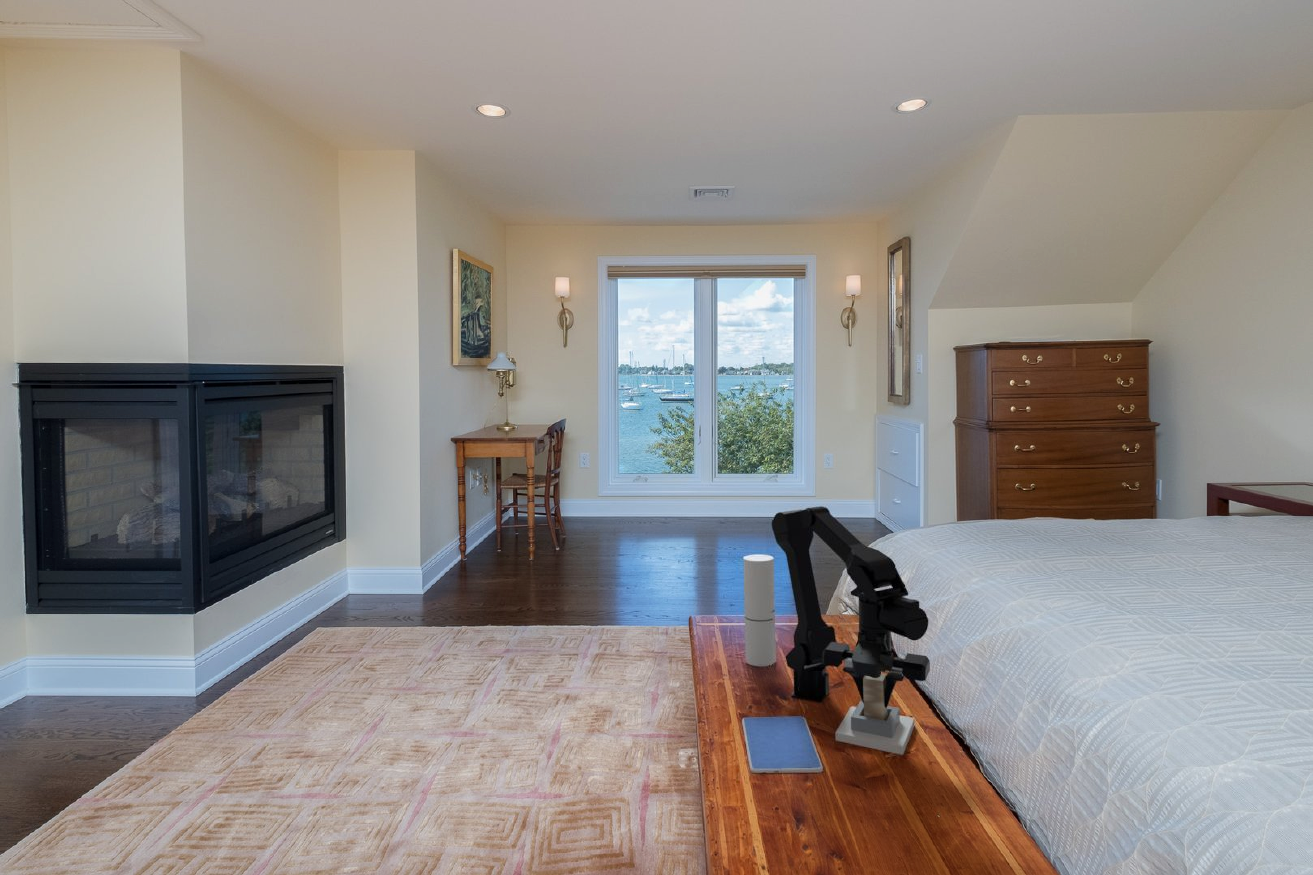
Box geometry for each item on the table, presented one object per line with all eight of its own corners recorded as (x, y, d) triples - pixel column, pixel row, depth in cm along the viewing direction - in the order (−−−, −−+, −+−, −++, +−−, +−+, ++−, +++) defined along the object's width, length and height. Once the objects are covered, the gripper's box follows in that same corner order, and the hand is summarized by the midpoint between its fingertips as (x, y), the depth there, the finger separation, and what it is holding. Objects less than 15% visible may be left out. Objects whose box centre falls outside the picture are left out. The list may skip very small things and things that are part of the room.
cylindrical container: (780, 658, 172) (778, 555, 171) (769, 668, 166) (766, 562, 165) (752, 653, 176) (750, 553, 175) (741, 663, 170) (738, 559, 168)
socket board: (835, 740, 132) (835, 719, 132) (851, 713, 143) (851, 693, 143) (902, 754, 127) (902, 733, 126) (914, 725, 137) (914, 705, 137)
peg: (864, 724, 134) (862, 678, 133) (868, 716, 137) (867, 671, 137) (884, 728, 132) (882, 681, 132) (887, 719, 135) (886, 673, 135)
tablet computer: (824, 775, 122) (824, 767, 122) (750, 776, 122) (750, 768, 122) (805, 721, 141) (804, 715, 141) (741, 722, 142) (741, 716, 142)
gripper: (812, 630, 131) (814, 712, 132) (920, 645, 122) (920, 734, 123) (829, 612, 140) (830, 689, 142) (930, 625, 131) (930, 707, 132)
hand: (875, 704), depth 134 cm, fingers closed on peg, 4 cm apart
